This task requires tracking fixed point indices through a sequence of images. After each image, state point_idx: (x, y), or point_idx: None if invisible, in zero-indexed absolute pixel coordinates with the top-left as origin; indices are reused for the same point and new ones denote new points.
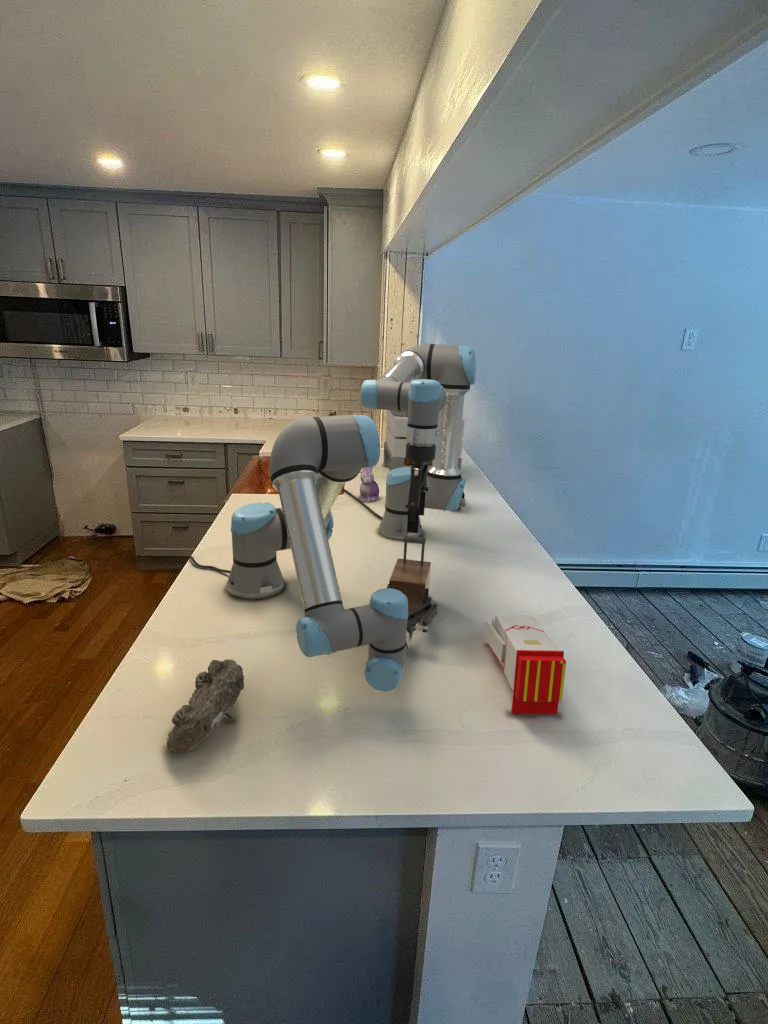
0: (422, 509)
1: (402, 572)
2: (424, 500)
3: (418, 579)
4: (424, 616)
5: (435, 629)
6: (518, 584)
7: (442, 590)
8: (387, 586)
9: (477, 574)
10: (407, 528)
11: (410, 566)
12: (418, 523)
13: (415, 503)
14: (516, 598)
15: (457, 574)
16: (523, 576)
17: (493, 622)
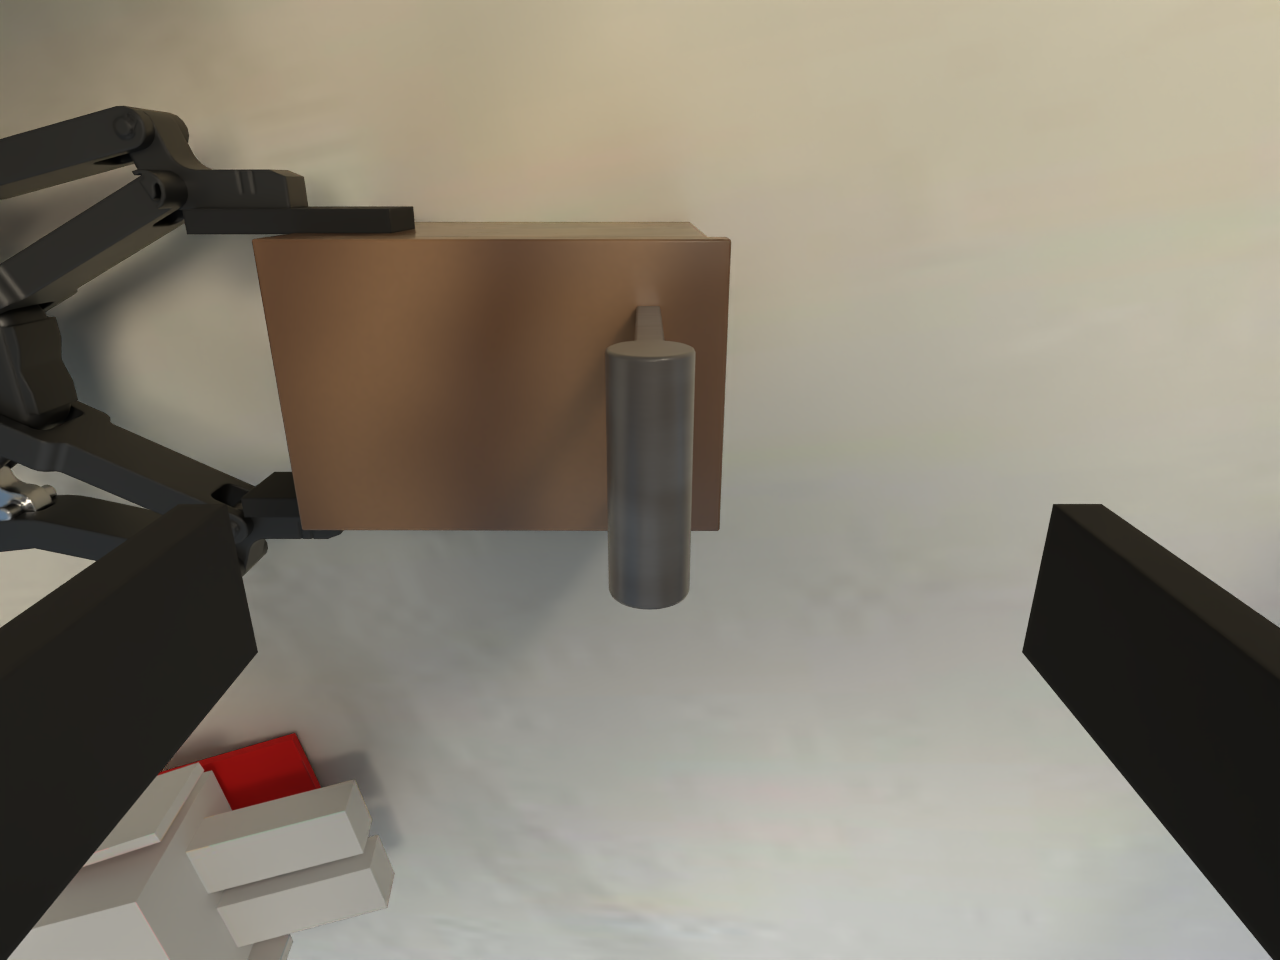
0: (1081, 692)
1: (441, 329)
2: (1197, 858)
3: (362, 472)
4: (47, 525)
5: None
6: (935, 855)
7: (793, 506)
8: (339, 211)
9: (1037, 678)
10: (139, 538)
11: (582, 380)
12: (173, 749)
13: (1185, 630)
14: (777, 842)
15: (1026, 575)
16: (1033, 878)
17: (308, 812)
